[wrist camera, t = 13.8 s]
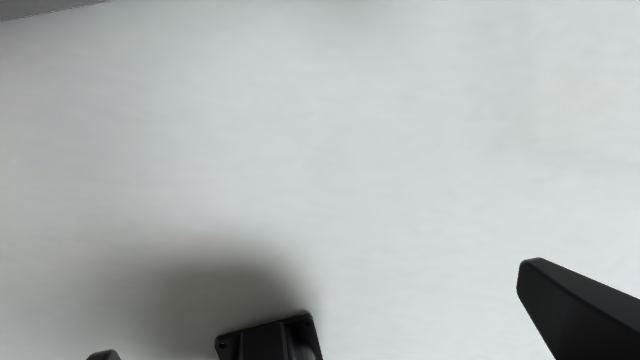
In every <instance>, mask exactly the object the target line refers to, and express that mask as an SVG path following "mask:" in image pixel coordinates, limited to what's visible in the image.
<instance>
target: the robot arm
mask: <svg viewBox="0 0 640 360" xmlns="http://www.w3.org/2000/svg"><path fill="white" fill-rule="evenodd" d="M516 289H517V294H518V297H519V299H520V301H521V302H522V304H523V306H524V307H525V309H526V311H527V313H528V314H529V316H530V318H531V319H532V321H533V323H534V324H535V326H536V328H537V330H538V331H539V333H540V335H541V336H542V338H543V340H544V341H545V343H546V345H547V346H548V348H549V350H550V351H551V353H552V355H553V356H554V358H555V359H556V360H640V299H638V298H635V297H633V296H631V295H628V294H626V293H623V292H621V291H619V290H616V289H614V288H612V287H609V286H607V285H605V284H602V283H600V282H597V281H595V280H593V279H590V278H588V277H586V276H583V275H581V274H579V273H576V272H574V271H571V270H569V269H567V268H564V267H562V266H560V265H557V264H555V263H552V262H550V261H548V260H545V259H543V258H532V259H527V260H524V261H522V262H521V263H520V266H519V273H518V279H517V286H516ZM306 321H308V322H306ZM304 322H305V323H304ZM221 343H224V344H221ZM215 349H216V351H217V354H218V356H219V358H220V360H323V358H322V354H321V350H320V346H319V341H318V337H317V333H316V329H315V325H314V321H313V317H312V316H311V315H310V314H303V315H299V316H295V317H292V318H288V319H284V320H280V321H276V322H272V323H268V324H264V325H260V326H256V327H252V328H249V329H245V330H241V331H237V332H233V333H229V334H225V335H221V336H219V337H217V338H216V340H215ZM86 360H121V359H120V357H119V356H118V354H117V352H116V351H115V350H111V349H110V350H105V351H101V352H96V353H93V354H92V355H90V356H89V357H88V358H87V359H86Z"/></svg>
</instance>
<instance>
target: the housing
mask: <svg viewBox="0 0 640 360" xmlns="http://www.w3.org/2000/svg"><path fill="white" fill-rule="evenodd" d="M109 1H115V0H0V22H1V21H7V20H12V19H17V18H23V17H28V16H34V15H39V14H44V13H50V12H55V11H61V10H66V9H71V8H77V7H82V6H88V5H93V4H98V3H104V2H109Z"/></svg>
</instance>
